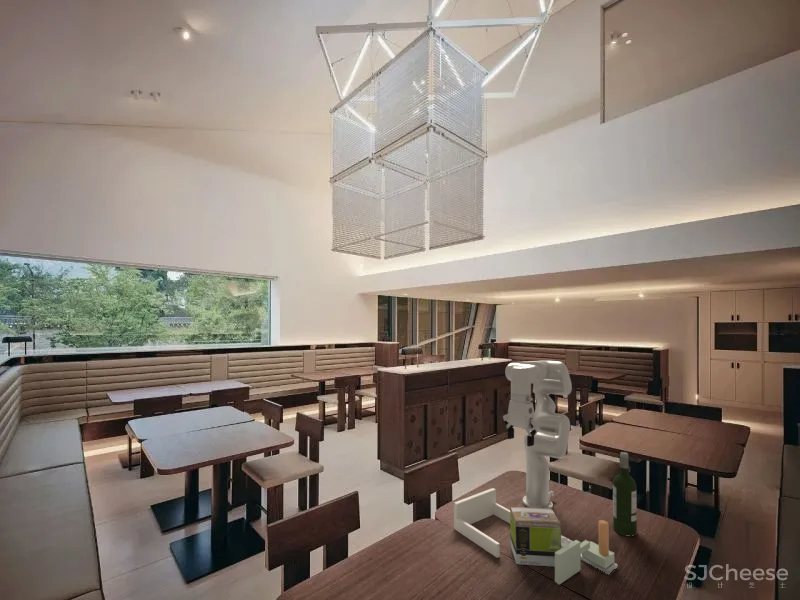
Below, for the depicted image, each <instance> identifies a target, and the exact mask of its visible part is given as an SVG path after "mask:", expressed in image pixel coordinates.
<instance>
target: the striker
mask: <svg viewBox="0 0 800 600" xmlns="http://www.w3.org/2000/svg"><path fill="white" fill-rule="evenodd" d="M609 524H610V523H609V522H608V521H606V520H603V519H602V520H601V519H600V520H598V544H597V543H595V542H594V541H589V540H587V539H584V540H583V541H582V542H581V541H580V540H578V539H575V540H572V541H573V542H571V543H570V544H568V545H566V546H565V547H563V548H561V549H560V550H558V551H556V552H555V567H554V582H555V583H556V584H557V585H559V586H560V585H561V584H563V583H564V582H565V581H567V580H569V579H570V578H571V577H573V576H574V575H575V574H577V573H578V572H580V571H581V560H580V554H582V556H583V557H584V558H586V559H588V560H590V561H592V562H594V563H595V564H597V565H599V566H601V567H603V568H604V569H606V568H607V567H609V566H610V565H611V564H613V563H615V552H613V551H612V550H610V547H609V546H610V544H609V543H610V542H609V541H610V539H609V538H610V535H609V534H610V532H609V529H610V527H609V526H610V525H609Z"/></svg>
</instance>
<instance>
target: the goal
mask: <svg viewBox="0 0 800 600" xmlns="http://www.w3.org/2000/svg"><path fill="white" fill-rule="evenodd" d="M496 491H497V490H496V488H494V487H492V488H489V489H486V490H483V491H481V492H478V493H475V494H473V495H471V496H470V495H469V496H468V497H466V498H462V499H460V500H458V501H454V503H453V529H454V530H455V531H457V532H459V533H460V534H461V535H462V536H464V537H465V538H467V539H468V540H470V541H471V542H472V543H474V544H476V545H477V546H479V547H480V548H482V549H483V550H485V551H486V552H488V553H489V554H490V555H492V556H494V557H495V558H497V559H498V558H499V557H500V545H501V544H500V543H499V542H498V541H496V540H495V539H493V538H492V537H490V536H489V535H487V534H485V533H484V532H483V531H481V530H479V529H478V528H476V527H475V526H473V525H472V524H475V523H477V522H480V521H481V520H483V519H487V518H488V517H490V516H495V517H498V518H499V519H501V520H503V521H504V522H507V523H508V524H510V508H506V507H505V506H502V505H501V504H499V503H497V502H496V500H497V499H496V497H497V496H496V495H497V494H496V493H497V492H496Z"/></svg>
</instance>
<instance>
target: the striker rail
mask: <svg viewBox="0 0 800 600" xmlns="http://www.w3.org/2000/svg"><path fill="white" fill-rule="evenodd" d="M573 541H574V540H572V539H570V538H568V537H566V536H564V535H562V534H561V548H563V547H565V546H566V545H568V544H570V543H571V542H573ZM580 561H582V562H583V563H586V564H588V565H589V564H590V565H589V566H591V565H592V566H591V567H593V566H594V567H593V568H595V569H597V568H598V569H599V570H598V569H597V570H598V571H600V570H601V572H602V571H603V572H602V573H604V572H605V573H604V574H606V575H607V574H608V576H609V575H611V574H612V573H613V572H614V571H615V570H614V569H616V568H617V567H618V564H617V562H616V563H615V562H614V563H613V564H611V565H610V566H609V567H607V568H606V569H604V568H603V567H601V566H599V565H597V564H595V563H594V562H592V561H590V560H588V559H586V558H584V557H583V556H582V554H580ZM618 568H619V567H618ZM618 568H617V569H618ZM617 569H616V570H617ZM613 570H614V571H613ZM612 571H613V572H612ZM611 572H612V573H611ZM610 573H611V574H610Z"/></svg>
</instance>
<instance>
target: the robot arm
mask: <svg viewBox="0 0 800 600" xmlns="http://www.w3.org/2000/svg"><path fill="white" fill-rule="evenodd" d="M504 374H505V377H506V379H507V380H508V381H510V400H509V404H508V409H507V413H506V414H504V415H502V418H503V419H502V420H503V421H504V422H503V423H504V425H505V428H506V429H507V440H513V439H515V428H517V429H522V430H525V431H526V433H525V434H524V436H523V437H524V438H523V443H524V450H525V459H526V460H525V461H526V463H525V469H526V470H525V471H526V472H525V473H526V474H525V476H526V477H525V480H526V481H525V489H526V490H525V492H526V493H525V494H526V495H524V496H523V497H522V504H523V505H524V506H526V508H546V509H552V510H553V507H554V506H553V505H554V504H553V501H552V500H551V497H553V496H555V492H554V491H553V490H550V465H549V462H548V460H547V458H546V457H550V458H554V459H558V460H559V459H563V458H565V456H566V454H567V450H568V449H567V448H568V444H569V443H568V442H569V437H570V430H571V423H570V419H569V417H568V416H567V415H565V414H562V413H556V407H557V406H556V404H555V401H554V400H553V399H552V398H551V397H550V394H552V395H559V396H569V395H570V394H571V392H572V389H573V388H572V386H573V385H572V380H571V377H570V373H569V370H568V367H567V365H566V363H564V362H563V361H560V360H559V361H558V360H557V361H556V360H545V359H544V360H543V359H541V360H533V361H517V362H510V363H508V364H507V366H506V367H505V373H504ZM532 385H533V390H534V396H535V401H536V405H535V407H534V404H533V400H534V399H533V397H532V395H531V394H532V393H531V392H532V388H531V386H532ZM534 408H535V409H534Z"/></svg>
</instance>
